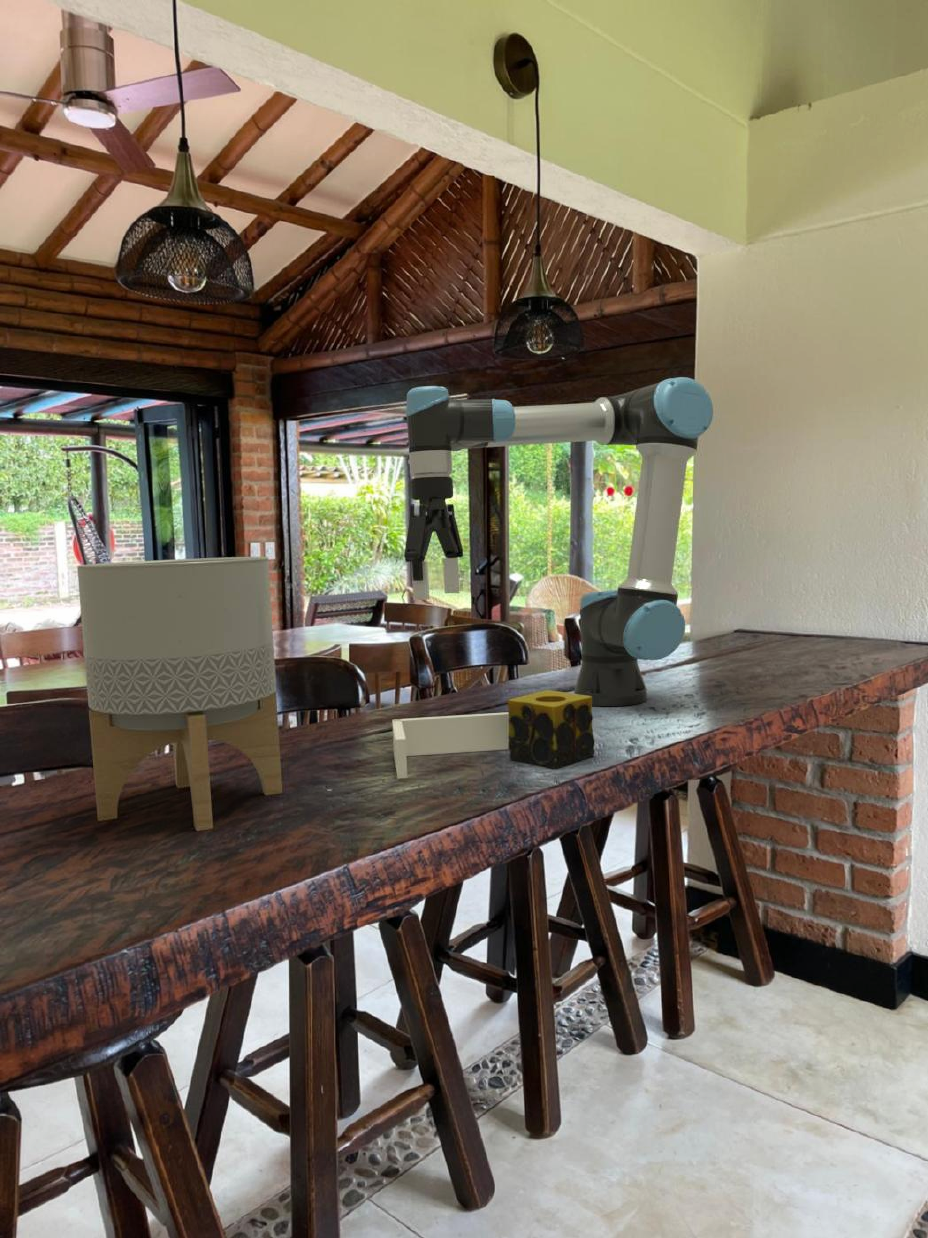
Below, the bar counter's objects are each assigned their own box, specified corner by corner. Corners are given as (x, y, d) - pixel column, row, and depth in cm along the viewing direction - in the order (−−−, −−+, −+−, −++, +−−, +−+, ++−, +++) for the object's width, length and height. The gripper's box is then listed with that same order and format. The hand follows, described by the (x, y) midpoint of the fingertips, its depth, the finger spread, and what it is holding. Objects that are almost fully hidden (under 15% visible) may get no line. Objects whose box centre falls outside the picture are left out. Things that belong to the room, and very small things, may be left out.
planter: (100, 847, 110) (77, 567, 107) (95, 796, 133) (76, 564, 130) (300, 814, 120) (285, 557, 117) (264, 772, 143) (250, 555, 139)
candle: (548, 747, 151) (546, 689, 150) (596, 756, 144) (595, 695, 143) (507, 760, 144) (505, 699, 143) (555, 770, 137) (553, 706, 136)
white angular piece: (511, 746, 153) (510, 712, 152) (528, 769, 138) (526, 731, 137) (393, 754, 150) (392, 719, 150) (397, 778, 136) (395, 739, 135)
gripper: (440, 480, 172) (445, 590, 174) (379, 475, 149) (386, 603, 151) (476, 477, 169) (481, 590, 171) (420, 472, 146) (427, 602, 148)
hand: (437, 596), depth 161 cm, fingers open, 13 cm apart
